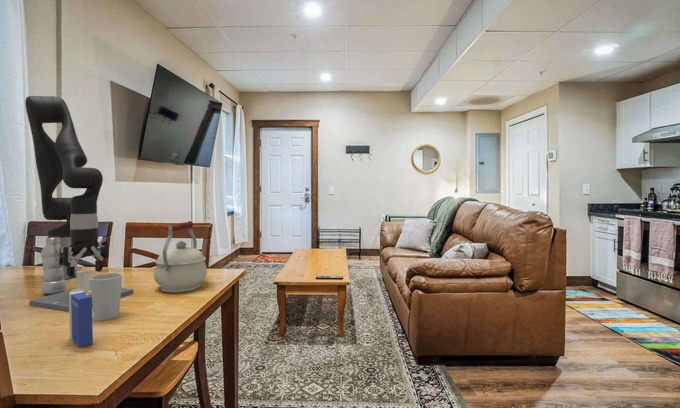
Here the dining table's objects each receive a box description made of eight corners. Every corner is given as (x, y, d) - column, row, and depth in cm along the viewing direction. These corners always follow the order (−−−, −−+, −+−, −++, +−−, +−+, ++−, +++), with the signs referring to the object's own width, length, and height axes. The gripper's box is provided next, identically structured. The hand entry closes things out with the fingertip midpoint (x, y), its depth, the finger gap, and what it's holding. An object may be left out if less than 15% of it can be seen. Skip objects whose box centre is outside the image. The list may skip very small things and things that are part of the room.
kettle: (190, 297, 117) (189, 226, 116) (139, 295, 118) (139, 225, 117) (219, 278, 142) (219, 219, 141) (178, 276, 143) (177, 219, 142)
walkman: (93, 343, 82) (92, 295, 81) (79, 347, 80) (78, 298, 79) (82, 334, 87) (82, 288, 86) (69, 338, 85) (68, 291, 84)
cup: (87, 323, 94) (86, 281, 93) (92, 313, 101) (92, 274, 100) (121, 318, 97) (120, 278, 97) (124, 309, 104) (123, 271, 104)
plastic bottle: (52, 296, 115) (50, 239, 114) (36, 295, 117) (35, 238, 116) (70, 291, 122) (69, 236, 121) (55, 290, 123) (54, 235, 122)
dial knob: (65, 295, 113) (65, 273, 112) (93, 289, 119) (93, 268, 119) (78, 302, 106) (78, 279, 105) (107, 296, 112) (107, 274, 112)
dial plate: (29, 305, 107) (29, 300, 107) (91, 287, 126) (91, 283, 126) (75, 312, 101) (75, 307, 101) (133, 293, 120) (133, 288, 120)
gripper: (98, 224, 121) (99, 268, 122) (52, 228, 107) (54, 278, 108) (113, 225, 118) (113, 270, 119) (68, 230, 105) (69, 281, 106)
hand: (85, 274), depth 114 cm, fingers open, 8 cm apart
